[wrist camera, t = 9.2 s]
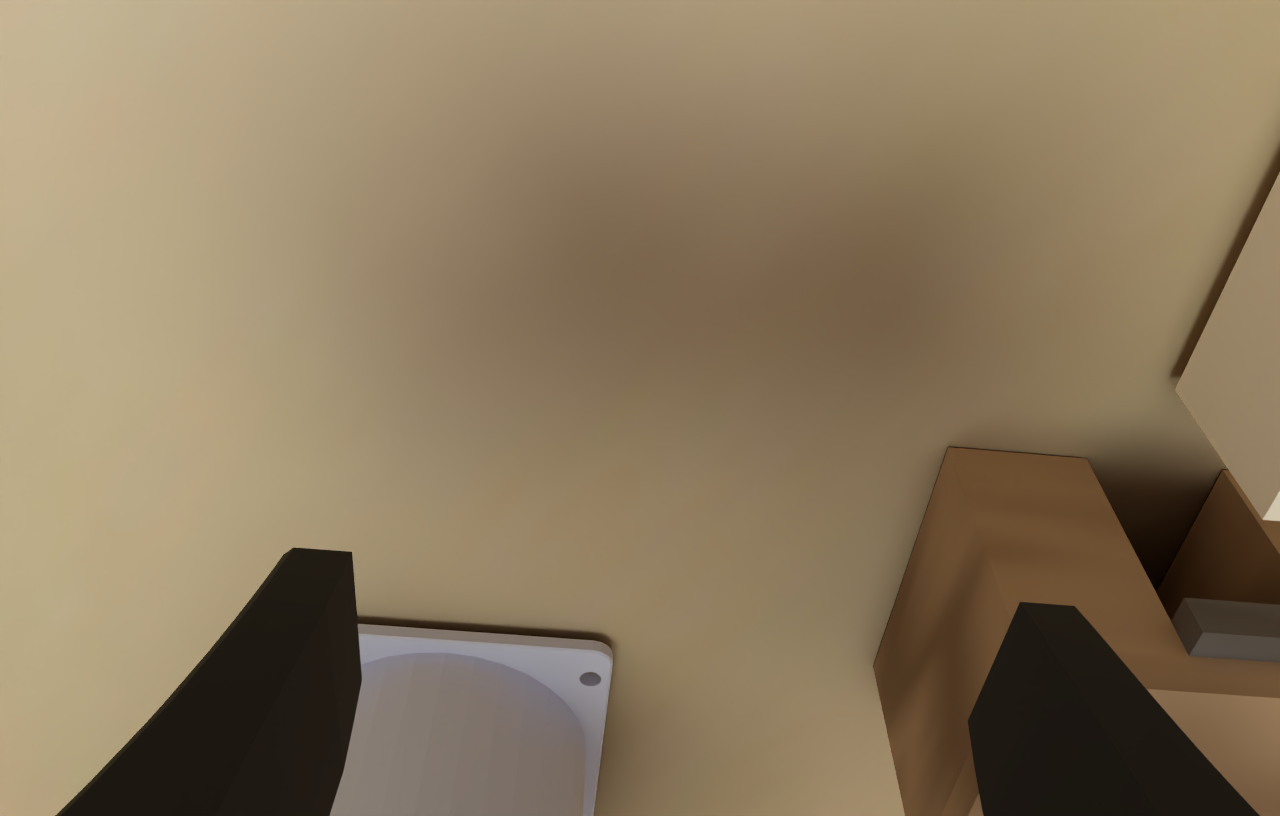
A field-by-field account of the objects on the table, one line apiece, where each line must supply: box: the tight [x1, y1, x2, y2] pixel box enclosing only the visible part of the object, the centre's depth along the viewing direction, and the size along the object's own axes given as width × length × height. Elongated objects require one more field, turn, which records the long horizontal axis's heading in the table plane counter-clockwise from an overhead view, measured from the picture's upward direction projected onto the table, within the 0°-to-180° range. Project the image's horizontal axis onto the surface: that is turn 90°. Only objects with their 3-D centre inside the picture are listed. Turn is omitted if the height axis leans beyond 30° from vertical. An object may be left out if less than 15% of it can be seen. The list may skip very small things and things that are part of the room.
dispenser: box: [873, 447, 1280, 816], centre depth 23 cm, size 8×9×6 cm
